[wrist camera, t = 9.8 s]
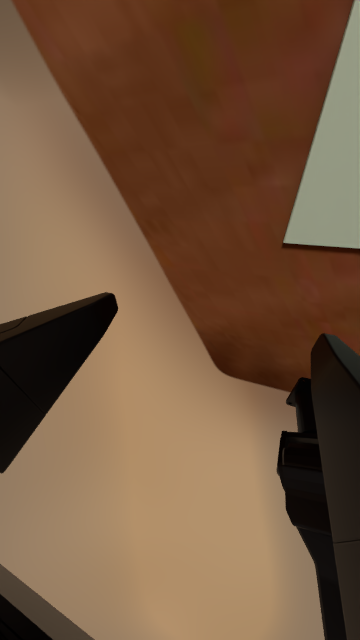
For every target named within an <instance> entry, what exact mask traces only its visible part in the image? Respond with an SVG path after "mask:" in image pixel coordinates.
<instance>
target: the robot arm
mask: <svg viewBox="0 0 360 640" xmlns="http://www.w3.org/2000/svg"><path fill="white" fill-rule="evenodd" d="M117 311H118V306H117V302H116V298H115V295H114V294H112V293H107V292H105V293H101V294H98V295H95V296H92V297H89V298H85V299H82V300H79V301H76V302H72V303H69V304H66V305H62V306H59V307H56V308H53V309H49V310H46V311H43V312H40V313H36V314H33V315H30V316H28V317H23V318H20V319H16V320H13V321H10V322H7V323H3V324H0V473H3V472H4V471H5V470H6V469H7V468H8V467H9V465H10V464H11V462H12V461H13V460H14V458H15V457H16V456H17V454H18V452H19V451H20V450H21V448H22V447H23V445H24V444H25V443H26V442H27V440H28V439H29V437H30V436H31V435H32V433H33V432H34V431H35V429H36V428H37V427H38V425H39V424H40V422H41V421H42V420H43V418H44V417H45V415H46V414H47V413H48V411H49V410H50V408H51V407H52V406H53V404H54V403H55V401H56V400H57V399H58V397H59V396H60V395H61V393H62V392H63V390H64V389H65V388H66V386H67V385H68V384H69V382H70V381H71V380H72V378H73V377H74V375H75V374H76V373H77V371H78V370H79V369H80V367H81V366H82V364H83V363H84V362H85V360H86V359H87V358H88V356H89V355H90V354H91V352H92V351H93V349H94V348H95V347H96V345H97V344H98V343H99V341H100V340H101V338H102V337H103V335H104V334H105V332H106V331H107V329H108V327H109V325H110V324H111V322H112V320H113V318H114V317H115V315H116V313H117ZM286 403H287V404H288V405H290V406H294V407H296V416H297V426H298V432H287V431H282V434H281V438H280V447H279V455H278V463H277V474H278V475H279V476H280V479H281V483H282V486H283V489H284V491H285V496H286V511H287V513H288V515H289V518H290V520H291V522H292V524H293V525H294V526H296V527H297V529H298V531H299V533H300V535H301V537H302V539H303V541H304V543H305V545H306V547H307V549H308V551H309V553H310V555H311V557H312V559H313V561H314V563H315V568H316V575H317V582H318V590H319V598H320V605H321V613H322V621H323V629H324V636H325V640H360V356H359V355H358V354H357V353H355V352H354V351H353V350H352V349H351V348H350V347H348V346H347V345H346V344H345V343H344V342H343V341H341V340H340V339H339V338H338V337H337V336H335V335H330V334H325V333H323V334H321V335H320V336H319V338H318V339H317V341H316V343H315V345H314V346H313V348H312V351H311V379H308V378H304V377H302V378H300V379H299V380H298V382H297V383H296V385H295V387H294V388H293V390H292V392H291V393H290V394H289V396H288V398H287V400H286ZM0 640H94V639H93V638H92V637H90V636H89V635H88V634H87V633H86V632H84V631H83V630H82V629H80V628H79V627H78V626H77V625H75V624H74V623H73V622H72V621H71V620H69V619H68V618H67V617H66V616H64V615H63V614H62V613H61V612H59V611H58V610H57V609H56V608H54V607H53V606H52V605H51V604H49V603H48V602H47V601H46V600H44V599H43V598H42V597H41V596H39V595H38V594H37V593H36V592H34V591H33V590H32V589H31V588H29V587H28V586H27V585H26V584H24V583H23V582H22V581H21V580H19V579H18V578H17V577H16V576H15V575H13V574H12V573H11V572H9V571H8V570H7V569H6V568H5V567H3V566H2V565H1V564H0Z"/></svg>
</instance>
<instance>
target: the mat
mask: <svg viewBox="0 0 360 640" xmlns="http://www.w3.org/2000/svg"><path fill="white" fill-rule="evenodd" d="M283 243H292V244H306V245H319V246H333V247H347V248H360V0H354V1H353V4H352V7H351V11H350V14H349V18H348V21H347V25H346V28H345V31H344V35H343V38H342V42H341V45H340V48H339V52H338V55H337V59H336V62H335V66H334V69H333V72H332V76H331V79H330V83H329V86H328V89H327V93H326V96H325V100H324V103H323V107H322V110H321V113H320V117H319V120H318V124H317V127H316V130H315V134H314V137H313V141H312V144H311V148H310V151H309V154H308V158H307V161H306V165H305V168H304V171H303V175H302V178H301V182H300V185H299V189H298V192H297V195H296V199H295V202H294V206H293V209H292V212H291V216H290V219H289V223H288V226H287V230H286V233H285V236H284V240H283Z"/></svg>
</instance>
